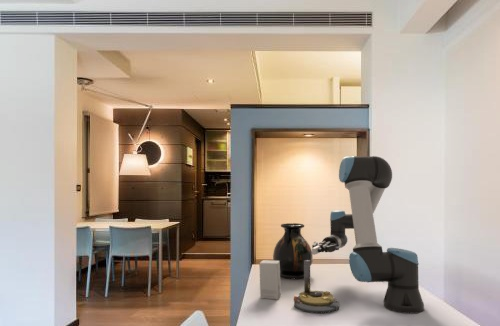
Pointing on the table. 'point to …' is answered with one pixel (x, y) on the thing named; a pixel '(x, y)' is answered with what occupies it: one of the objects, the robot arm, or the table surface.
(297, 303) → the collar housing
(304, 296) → the brass disc with post
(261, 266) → the skincare box
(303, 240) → the black vase
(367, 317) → the table surface
